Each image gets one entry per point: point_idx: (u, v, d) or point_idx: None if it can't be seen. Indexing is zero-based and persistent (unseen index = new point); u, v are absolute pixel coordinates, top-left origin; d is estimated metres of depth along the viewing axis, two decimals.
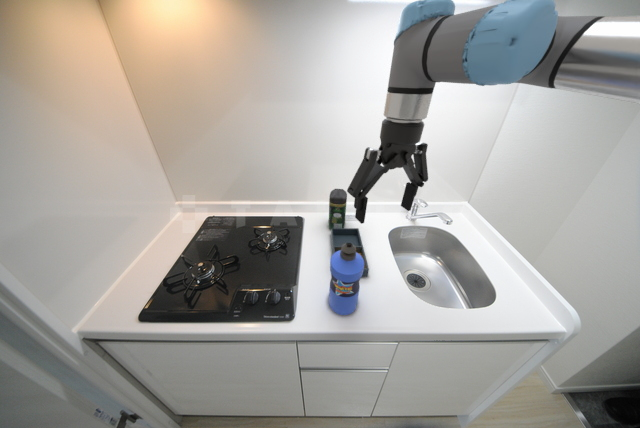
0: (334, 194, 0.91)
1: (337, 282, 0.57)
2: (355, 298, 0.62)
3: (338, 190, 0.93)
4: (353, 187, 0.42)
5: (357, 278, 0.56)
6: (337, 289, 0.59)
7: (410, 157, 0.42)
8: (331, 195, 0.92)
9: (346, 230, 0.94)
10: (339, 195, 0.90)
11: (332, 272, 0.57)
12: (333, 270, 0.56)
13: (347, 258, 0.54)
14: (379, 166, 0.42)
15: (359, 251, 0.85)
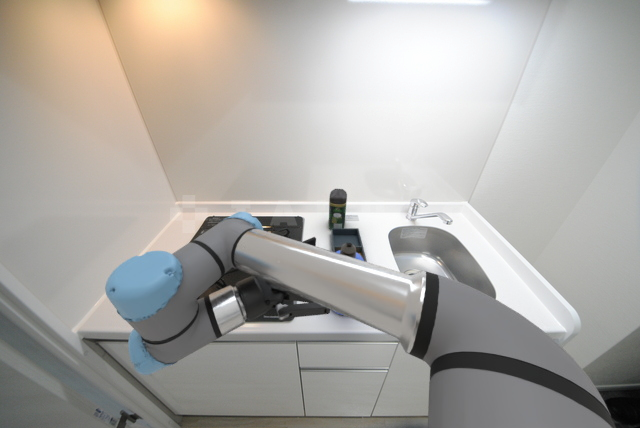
0: (334, 194, 0.91)
1: None
2: None
3: (338, 190, 0.93)
4: (322, 310, 0.39)
5: None
6: None
7: None
8: (331, 195, 0.92)
9: (346, 230, 0.94)
10: (339, 195, 0.90)
11: None
12: None
13: None
14: (290, 296, 0.41)
15: (359, 251, 0.85)
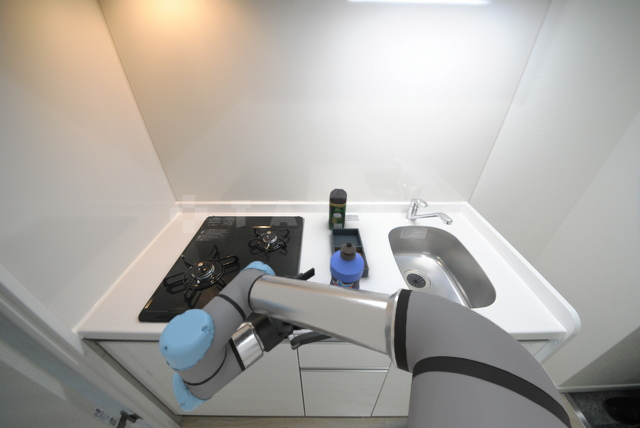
0: (334, 194, 0.91)
1: (337, 282, 0.57)
2: None
3: (338, 190, 0.93)
4: (327, 335, 0.46)
5: (357, 278, 0.56)
6: None
7: None
8: (331, 195, 0.92)
9: (346, 230, 0.94)
10: (339, 195, 0.90)
11: (332, 272, 0.57)
12: (333, 270, 0.56)
13: (347, 258, 0.54)
14: (299, 326, 0.48)
15: (359, 251, 0.85)
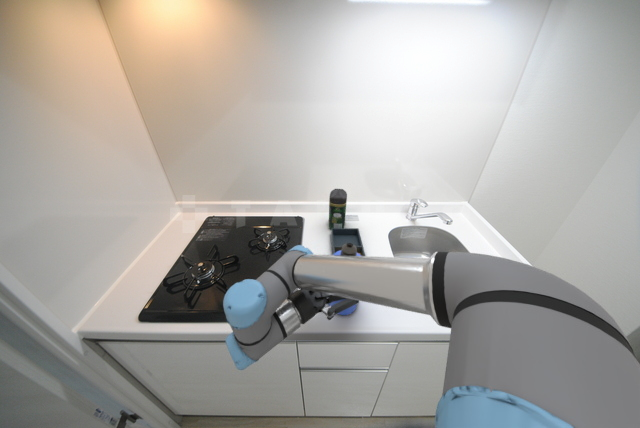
0: (334, 194, 0.91)
1: None
2: None
3: (338, 190, 0.93)
4: (355, 301, 0.53)
5: None
6: None
7: None
8: (331, 195, 0.92)
9: (346, 230, 0.94)
10: (339, 195, 0.90)
11: None
12: None
13: None
14: (330, 298, 0.54)
15: (359, 251, 0.85)
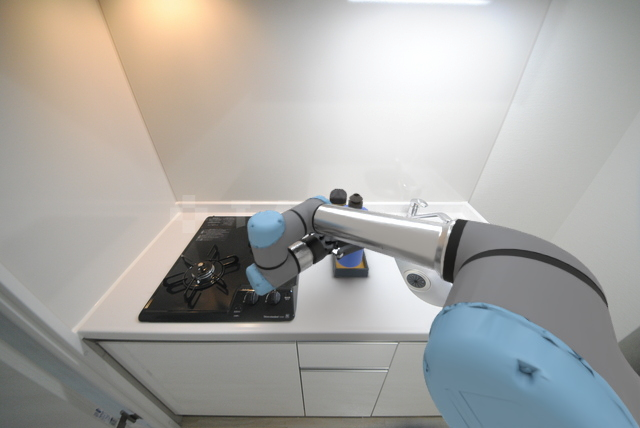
0: (334, 194, 0.91)
1: None
2: (361, 250, 0.66)
3: (338, 190, 0.93)
4: None
5: None
6: None
7: None
8: (331, 195, 0.92)
9: None
10: (339, 195, 0.90)
11: None
12: None
13: (355, 207, 0.59)
14: (339, 244, 0.58)
15: None
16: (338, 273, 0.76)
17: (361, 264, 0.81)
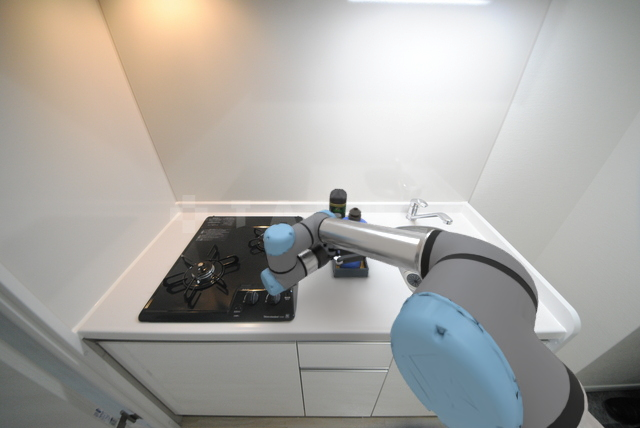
0: (334, 194, 0.91)
1: None
2: None
3: (338, 190, 0.93)
4: (362, 257, 0.64)
5: None
6: None
7: None
8: (331, 195, 0.92)
9: None
10: (339, 195, 0.90)
11: None
12: None
13: (354, 219, 0.67)
14: (340, 252, 0.66)
15: None
16: (338, 273, 0.76)
17: (361, 264, 0.81)
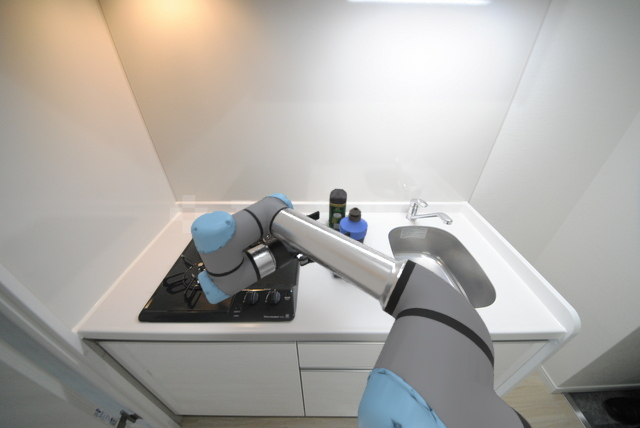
0: (334, 194, 0.91)
1: None
2: None
3: (338, 190, 0.93)
4: None
5: (362, 236, 0.69)
6: None
7: None
8: (331, 195, 0.92)
9: None
10: (339, 195, 0.90)
11: (341, 232, 0.70)
12: (342, 230, 0.69)
13: (354, 219, 0.67)
14: None
15: None
16: None
17: None
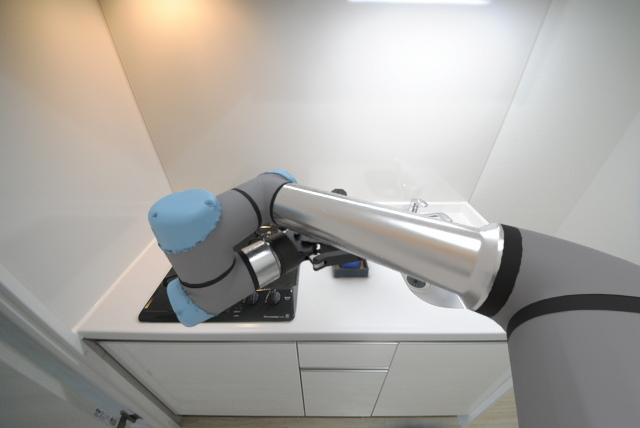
0: None
1: None
2: None
3: (338, 190, 0.93)
4: (356, 256, 0.38)
5: None
6: None
7: None
8: None
9: None
10: None
11: None
12: None
13: None
14: (321, 248, 0.40)
15: None
16: (338, 273, 0.76)
17: (361, 264, 0.81)
